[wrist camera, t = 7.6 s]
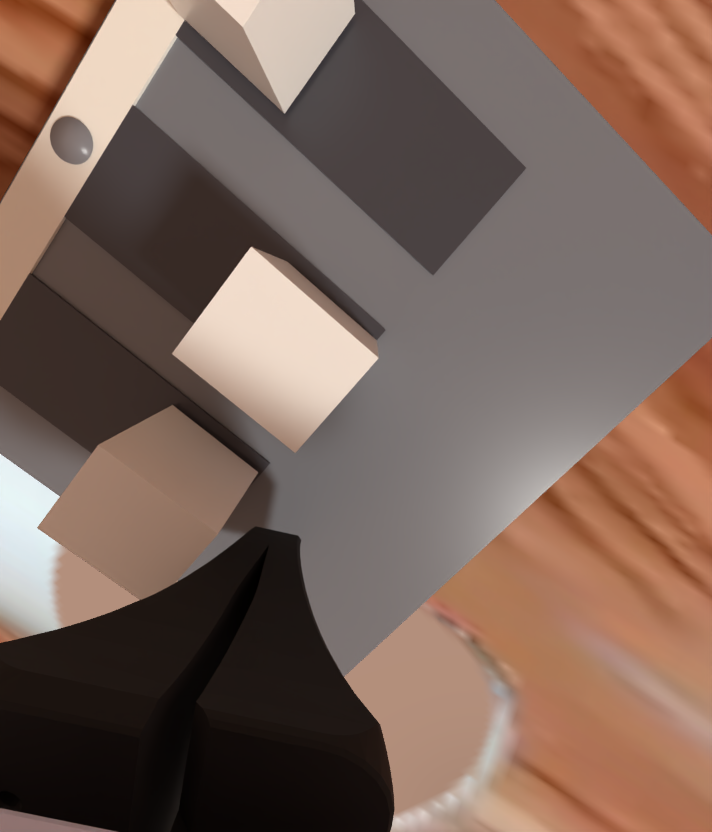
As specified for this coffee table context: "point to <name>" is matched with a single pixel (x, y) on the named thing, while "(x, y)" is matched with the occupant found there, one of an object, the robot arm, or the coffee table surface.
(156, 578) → the tab
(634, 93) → the coffee table surface
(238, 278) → the tab
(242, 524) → the switch bank
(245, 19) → the tab
